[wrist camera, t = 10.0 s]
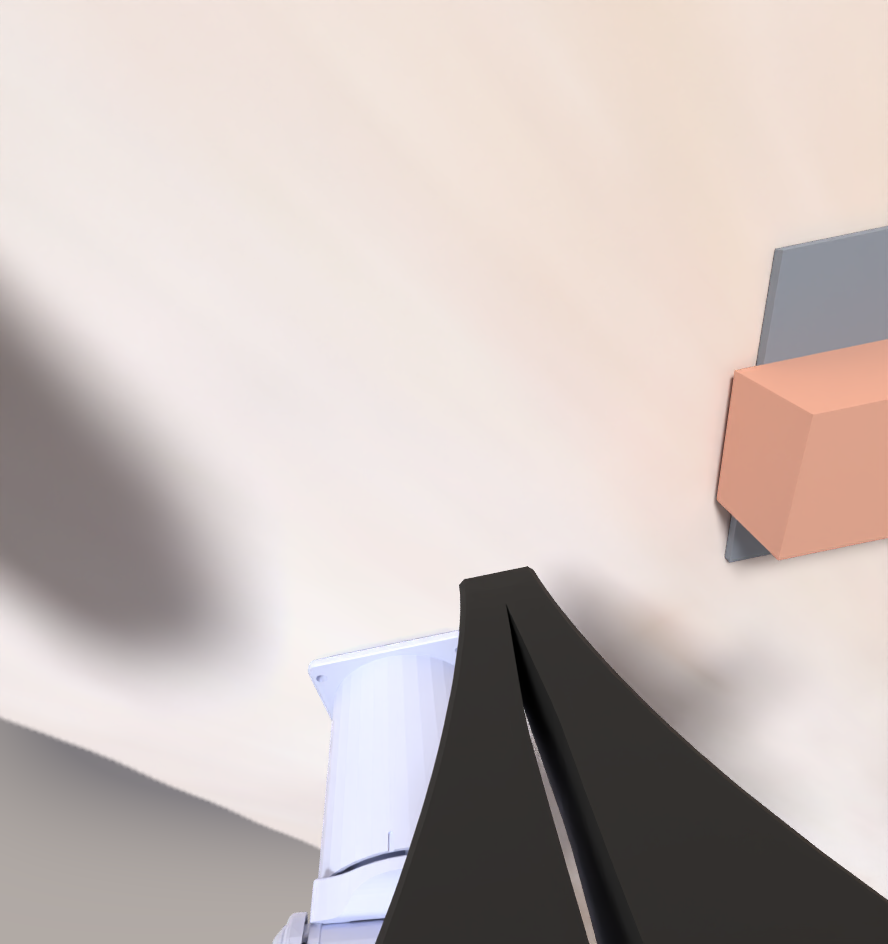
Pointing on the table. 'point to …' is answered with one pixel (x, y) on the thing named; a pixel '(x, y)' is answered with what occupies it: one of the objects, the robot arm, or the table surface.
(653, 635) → the table surface
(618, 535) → the table surface
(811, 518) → the block
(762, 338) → the mat
